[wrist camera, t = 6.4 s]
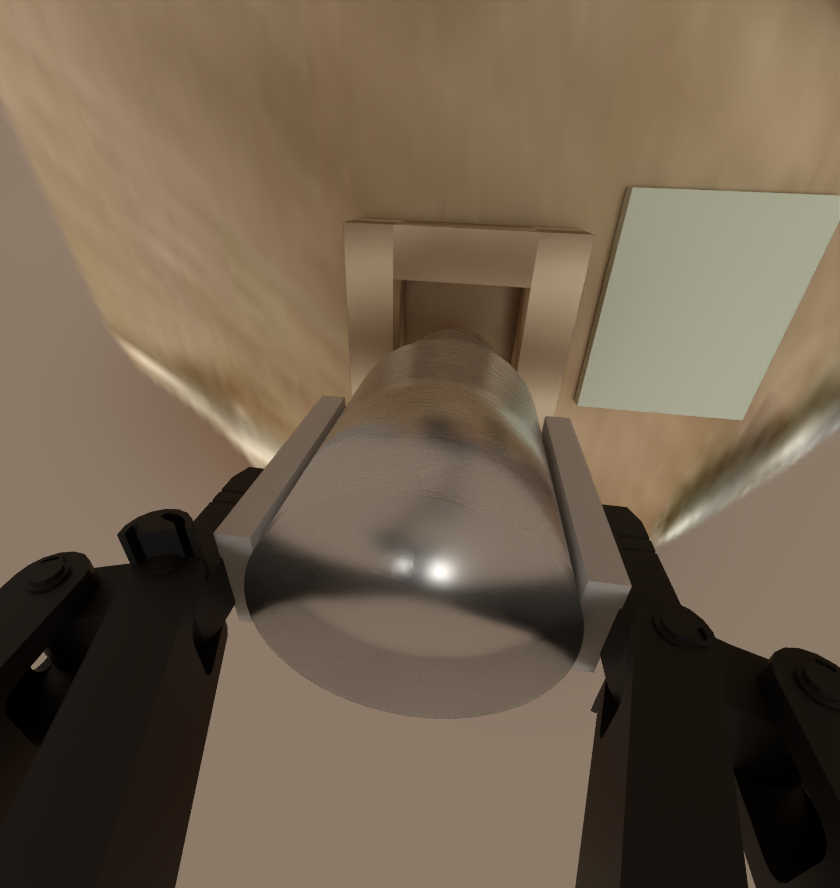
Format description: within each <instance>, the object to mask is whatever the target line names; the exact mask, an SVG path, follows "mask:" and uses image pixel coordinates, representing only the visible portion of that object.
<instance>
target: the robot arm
mask: <svg viewBox="0 0 840 888" xmlns="http://www.w3.org/2000/svg"><path fill="white" fill-rule="evenodd" d="M344 409H345V398H343V397H332V396H322V397H321V398H320V399H319V401H318V402H317V403H316V405H315V406H314V407H313V408H312V410H311V411H310V412H309V413H308V415H307V416H306V417H305V418H304V420H303V421H302V422H301V423H300V425H299V426H298V427H297V428H296V430H295V431H294V432H293V434H292V435H291V436H290V437H289V439H288V440H287V441H286V442H285V444H284V445H283V446H282V447H281V449H280V450H279V451H278V452H277V454H276V455H275V456H274V457H273V459H272V460H271V461H270V462H269V464H268V465H267V466H266V468H265V469H262V468H253V467H249V468H247V469H245V470H244V471H242V472H240V473H238V474H237V475H235V476H234V477H232V478H231V479H230V481H229V482H228V483H227V484H226V485H225V486H224V487H223V489H222V492H219V493H218V494H217V495H216V496H215V498H214V499H213V502H210V503H209V505H208V506H207V507H206V508H205V509H204V510H203V511H202V513H200V515H199V516H198V517H197V518H196V519H195V520H194V521H193V520H192V518H191V517H190V516H189V514H188V513H186V512H184V511H181V510H178V509H163V510H158V511H153V512H150V513H147V514H145V515H142V516H140V517H138V518H136V519H135V520H133V521H131V522H130V523H128V524H127V525H125V526H124V527H123V529H122V530H121V531H120V532H119V533H118V534H117V536H118V538H119V540H120V542H121V544H122V547H123V549H124V551H125V553H126V555H127V558H128V560H129V562H130V564H123V565H114V566H106V567H98V568H94V567H93V566H92V564H91V562H90V560H89V559H88V558H87V557H86V555H85V554H82V553H78V552H62V553H58V554H54V555H51V556H47V557H44V558H42V559H40V560H38V561H36V562H34V563H32V564H30V565H28V566H27V567H25V568H24V569H22V570H21V571H20V572H18V573H17V574H16V575H14V576H13V577H12V578H11V579H10V580H9V581H8V582H7V583H6V584H5V585H3V586H2V587H1V588H0V888H175V885H176V880H177V876H178V871H179V866H180V861H181V856H182V852H183V846H184V842H185V837H186V832H187V828H188V822H189V818H190V813H191V809H192V803H193V799H194V794H195V789H196V784H197V779H198V775H199V770H200V765H201V761H202V756H203V751H204V746H205V742H206V736H207V732H208V727H209V722H210V717H211V713H212V708H213V703H214V698H215V694H216V689H217V684H218V679H219V674H220V670H221V664H222V660H223V655H224V650H225V646H226V640H227V635H228V634H227V633H228V632H227V624H226V621H225V620H226V618H227V617H228V615H229V613H230V612H231V610H232V608H233V607H234V605H235V608H236V611H237V614H238V617H239V620H240V621H246V622H253V621H252V619H251V616H250V614H249V611H248V608H247V605H246V600H245V594H244V576H245V571H246V567H247V563H248V561H249V558H250V556H251V554H252V552H253V550H254V548H255V547H256V545H257V543H258V542H259V540H260V539H261V537H262V536H263V534H264V533H265V531H266V530H267V528H268V526H269V525H270V523H271V522H272V520H273V519H274V517H275V516H276V514H277V513H278V511H279V509H280V508H281V506H282V505H283V503H284V502H285V500H286V499H287V497H288V496H289V494H290V492H291V491H292V489H293V488H294V486H295V485H296V483H297V482H298V480H299V479H300V477H301V475H302V474H303V472H304V471H305V469H306V468H307V466H308V465H309V463H310V462H311V460H312V458H313V457H314V455H315V454H316V452H317V451H318V449H319V448H320V446H321V445H322V443H323V441H324V440H325V438H326V437H327V435H328V434H329V432H330V431H331V429H332V428H333V426H334V424H335V423H336V421H337V420H338V418H339V417H340V415H341V414H342V412H343V410H344ZM541 434H542V438H543V442H544V447H545V451H546V455H547V460H548V464H549V468H550V473H551V477H552V482H553V486H554V490H555V495H556V499H557V503H558V508H559V512H560V516H561V521H562V525H563V529H564V534H565V538H566V542H567V547H568V551H569V555H570V560H571V564H572V568H573V573H574V577H575V582H576V586H577V590H578V595H579V599H580V603H581V608H582V614H583V620H584V636H583V642H582V646H581V649H580V653H579V655H578V657H577V659H576V661H575V663H574V665H573V667H572V668H571V669H574V670H581V671H588V672H594V670H595V668H596V666H597V664H598V661H599V659H600V657H601V660H602V664H603V669H604V672H605V677H606V678H605V680H604V682H603V685H602V687H601V689H600V691H599V693H598V695H597V697H596V699H595V702H594V704H593V706H592V709H591V711H592V712H594V713H597V719H596V727H595V735H594V743H593V752H592V759H591V767H590V775H589V784H588V791H587V799H586V807H585V815H584V823H583V831H582V839H581V848H580V855H579V863H578V871H577V879H576V886H575V888H748V882H747V874H746V866H745V859H744V852H745V855H746V858H747V861H748V864H749V868H750V871H751V874H752V877H753V880H754V883H755V886H756V888H840V667H838V666H837V665H836V664H834V663H832V662H830V661H828V660H827V659H825V658H823V657H821V656H819V655H818V654H815V653H812V652H809V651H806V650H803V649H800V648H782V649H780V650H778V651H776V652H774V654H773V655H772V656H771V657H770V659H766V658H764V657H761V656H758V655H756V654H753V653H751V652H748V651H746V650H743V649H740V648H738V647H735V646H733V645H730V644H728V643H726V642H723V641H721V640H719V639H717V638H715V636H714V633H713V632H712V630H711V629H710V628H709V626H708V625H707V624H706V623H705V622H704V620H703V619H701V618H700V617H699V616H698V615H696V614H695V613H694V612H692V611H691V610H690V609H688V608H686V607H684V606H682V605H681V604H680V602H679V600H678V598H677V596H676V593H675V591H674V589H673V587H672V585H671V583H670V581H669V578H668V576H667V574H666V572H665V570H664V568H663V566H662V564H661V562H660V559H659V557H658V555H657V554H655V549H654V547H653V545H652V542H651V541H649V536H648V534H647V532H646V530H645V528H644V525H643V523H642V521H640V520H639V519H638V518H637V517H636V516H635V515H634V514H633V513H632V512H631V511H630V510H629V509H628V508H627V507H620V506H611V505H602V504H601V502H600V499H599V496H598V493H597V491H596V488H595V485H594V483H593V480H592V477H591V474H590V472H589V469H588V466H587V464H586V461H585V458H584V455H583V453H582V450H581V447H580V445H579V442H578V439H577V436H576V434H575V431H574V428H573V426H572V423H571V420H570V418H563V417H552V416H545V419H544V423H543V428H542V432H541ZM43 652H44V653H45V655H46V656H47V658H46V660H45V661H44V662H43V663H42V664H41V665H40V666H39V667H37V668H36V669H34V670H32V669H31V665H32V664H33V663H34V662H35V661H36V660H37V659H38V657H39V656H40V655H41V654H42V653H43ZM743 849H744V850H743Z"/></svg>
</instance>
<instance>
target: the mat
mask: <svg viewBox="0 0 840 888" xmlns="http://www.w3.org/2000/svg"><path fill="white" fill-rule="evenodd" d="M839 221H840V195H815V194H790V193H765V192H740V191H714V190H689V189H664V188H639V187H628V188H627V189H626V193H625V197H624V201H623V205H622V209H621V213H620V217H619V221H618V226H617V230H616V234H615V238H614V242H613V246H612V250H611V254H610V258H609V262H608V266H607V270H606V274H605V278H604V282H603V286H602V290H601V294H600V298H599V302H598V306H597V310H596V314H595V318H594V322H593V326H592V330H591V334H590V338H589V342H588V347H587V351H586V355H585V359H584V363H583V367H582V371H581V375H580V379H579V383H578V387H577V391H576V395H575V399H574V400H575V402H576V404H577V406H585V407H596V408H608V409H619V410H631V411H642V412H653V413H665V414H676V415H688V416H699V417H711V418H722V419H734V420H743V418H744V416H745V414H746V412H747V410H748V408H749V406H750V403H751V401H752V399H753V397H754V395H755V393H756V391H757V389H758V387H759V385H760V383H761V381H762V379H763V377H764V375H765V373H766V371H767V369H768V367H769V364H770V362H771V360H772V358H773V356H774V354H775V352H776V350H777V348H778V346H779V344H780V342H781V340H782V338H783V336H784V334H785V332H786V330H787V328H788V326H789V323H790V321H791V319H792V317H793V315H794V313H795V311H796V309H797V307H798V305H799V303H800V301H801V299H802V297H803V295H804V293H805V291H806V289H807V287H808V284H809V282H810V280H811V278H812V276H813V274H814V272H815V270H816V268H817V266H818V264H819V262H820V260H821V258H822V256H823V254H824V252H825V250H826V248H827V245H828V243H829V241H830V239H831V237H832V235H833V233H834V231H835V229H836V227H837V225H838V223H839Z"/></svg>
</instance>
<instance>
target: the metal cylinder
mask: <svg viewBox="0 0 840 888" xmlns="http://www.w3.org/2000/svg"><path fill="white" fill-rule="evenodd" d="M244 594H245V600H246V605H247V608H248V611H249V614H250V616H251V619H252V621H253V623H254V625H255V626H256V628H257V630H258V632H259V633H260V635H261V636H262V638H263V639H264V640H265V641H266V643H267V644H268V646H269V647H270V648H271V649H272V650H273V651H274V652H275V653H276V654H277V655H278V656H279V657H280V658H281V659H282V660H283V661H284V662H285V663H287V664H288V665H289V666H290V667H291V668H293V669H294V670H295V671H297V672H298V673H300V674H301V675H302V676H303V677H305V678H307V679H308V680H310V681H311V682H313V683H315V684H316V685H318V686H320V687H322V688H324V689H326V690H328V691H330V692H331V693H333V694H335V695H338V696H340V697H343V698H345V699H347V700H350V701H352V702H355V703H358V704H361V705H364V706H367V707H370V708H374V709H378V710H381V711H385V712H390V713H395V714H400V715H406V716H414V717H421V718H436V719H456V718H457V719H458V718H469V717H478V716H484V715H490V714H495V713H499V712H503V711H506V710H510V709H513V708H515V707H518V706H521V705H524V704H526V703H528V702H530V701H532V700H534V699H536V698H538V697H540V696H541V695H543V694H544V693H546V692H547V691H549V690H550V689H552V688H553V687H554V686H555V685H556V684H557V683H558V682H560V681H561V680H562V679H563V678H564V677H565V675H566V674H567V673H568V672H569V670H570V669H571V668H572V667H573V665H574V663H575V661H576V659H577V657H578V655H579V653H580V649H581V646H582V642H583V636H584V620H583V614H582V608H581V603H580V599H579V595H578V590H577V586H576V582H575V577H574V573H573V568H572V564H571V560H570V555H569V551H568V547H567V542H566V538H565V534H564V529H563V525H562V521H561V516H560V512H559V508H558V503H557V499H556V495H555V490H554V486H553V482H552V477H551V473H550V468H549V464H548V460H547V455H546V451H545V447H544V442H543V438H542V434H541V429H540V425H539V421H538V416H537V412H536V408H535V404H534V401H533V398H532V395H531V393H530V391H529V389H528V387H527V385H526V383H525V382H524V380H523V379H522V378H521V376H520V375H519V373H518V372H517V371H516V370H515V369H514V368H513V367H512V366H511V365H510V364H509V363H507V362H506V361H505V360H504V359H502V358H501V357H500V356H498V355H497V354H496V352H495V351H494V349H493V348H492V346H491V345H490V344H489V343H488V342H487V341H486V340H485V339H483V338H482V337H481V336H479V335H477V334H476V333H474V332H471V331H469V330H465V329H460V328H445V329H440V330H436V331H434V332H431V333H429V334H427V335H426V336H424V337H423V338H422V339H420V340H419V341H418V342H414V343H410V344H408V345H405V346H403V347H400V348H398V349H396V350H394V351H393V352H391V353H389V354H387V355H386V356H385V357H384V358H382V359H381V360H380V361H379V362H377V364H376V365H375V366H374V367H373V368H372V369H371V370H370V371H369V372H368V374H367V375H366V377H365V378H364V380H363V381H362V383H361V384H360V386H359V387H358V389H357V390H356V392H355V393H354V395H353V397H352V398H351V400H350V401H349V403H348V404H347V406H346V407H345V409H344V410H343V412H342V414H341V415H340V417H339V418H338V420H337V421H336V423H335V424H334V426H333V428H332V429H331V431H330V432H329V434H328V435H327V437H326V438H325V440H324V441H323V443H322V445H321V446H320V448H319V449H318V451H317V452H316V454H315V455H314V457H313V458H312V460H311V462H310V463H309V465H308V466H307V468H306V469H305V471H304V472H303V474H302V475H301V477H300V479H299V480H298V482H297V483H296V485H295V486H294V488H293V489H292V491H291V492H290V494H289V496H288V497H287V499H286V500H285V502H284V503H283V505H282V506H281V508H280V509H279V511H278V513H277V514H276V516H275V517H274V519H273V520H272V522H271V523H270V525H269V526H268V528H267V530H266V531H265V533H264V534H263V536H262V537H261V539H260V540H259V542H258V543H257V545H256V547H255V548H254V550H253V552H252V554H251V556H250V558H249V561H248V563H247V567H246V571H245V576H244Z"/></svg>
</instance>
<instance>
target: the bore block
mask: <svg viewBox="0 0 840 888" xmlns="http://www.w3.org/2000/svg"><path fill="white" fill-rule="evenodd" d="M343 232H344V251H345V271H346V290H347V310H348V330H349V349H350V369H351V388H352V397H353V395H354V393H355V392H356V390H357V389H358V387H359V386H360V384H361V383H362V381H363V380H364V378H365V377H366V375H367V374H368V372H369V371H370V370H371V369H372V368H373V367H374V366H375V365H376V364H377V362H379V361H380V360H381V359H382V358H384V357H385V356H386V355H387V354H389V353H391V352H393V351H394V350H396V349H398V348H400V347H403V346H404V318H405V280H412V281H428V282H444V283H460V284H476V285H492V286H508V287H522V293H521V299H520V306H519V312H518V319H517V325H516V332H515V338H514V344H513V351H512V357H511V364H510V365H511V366H512V367H513V368H514V369H515V370H516V371H517V372H518V373H519V375H520V376H521V378H522V379H523V380H524V382H525V383H526V385H527V387H528V389H529V391H530V393H531V395H532V398H533V401H534V404H535V408H536V412H537V416H538V421H539V425H540V429H541V432H542V428H543V423H544V419H545V416H552V417H554V414H555V409H556V405H557V401H558V396H559V392H560V387H561V383H562V378H563V374H564V370H565V365H566V361H567V356H568V352H569V347H570V343H571V339H572V334H573V330H574V325H575V321H576V316H577V312H578V307H579V303H580V299H581V294H582V290H583V285H584V281H585V276H586V272H587V268H588V263H589V259H590V254H591V250H592V245H593V241H594V237H595V235H594V234H591V233H588V232H585V231H582V230H580V229H568V228H547V227H527V226H507V225H486V224H466V223H446V222H425V221H405V220H385V219H364V218H363V219H357V220H352V221H347V222H343Z"/></svg>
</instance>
